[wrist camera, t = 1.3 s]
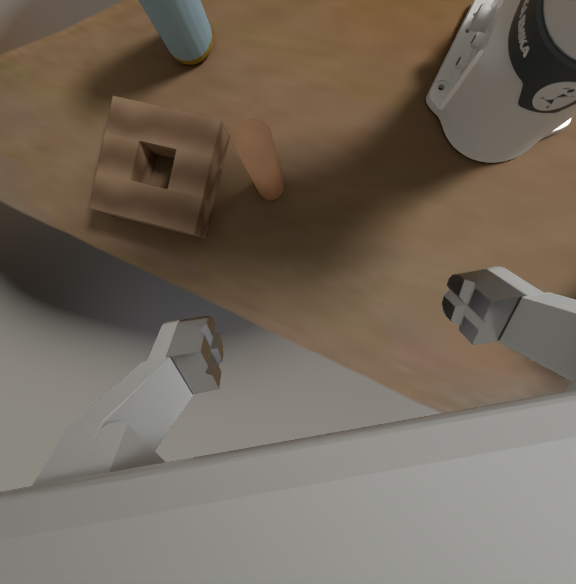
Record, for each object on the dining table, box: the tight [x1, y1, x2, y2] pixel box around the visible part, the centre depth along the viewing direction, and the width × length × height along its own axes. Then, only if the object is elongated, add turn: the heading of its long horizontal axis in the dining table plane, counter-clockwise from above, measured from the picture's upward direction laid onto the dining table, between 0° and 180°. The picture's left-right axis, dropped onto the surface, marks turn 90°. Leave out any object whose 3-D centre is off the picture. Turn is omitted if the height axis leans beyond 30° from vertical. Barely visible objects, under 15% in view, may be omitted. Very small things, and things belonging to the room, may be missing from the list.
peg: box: [233, 119, 284, 200], centre depth 32 cm, size 4×4×13 cm
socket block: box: [89, 96, 230, 239], centre depth 38 cm, size 16×16×4 cm
